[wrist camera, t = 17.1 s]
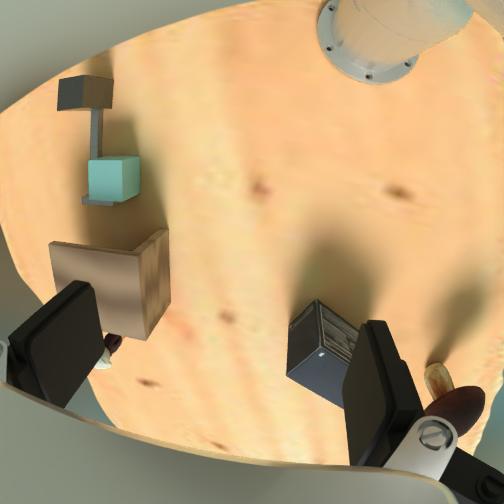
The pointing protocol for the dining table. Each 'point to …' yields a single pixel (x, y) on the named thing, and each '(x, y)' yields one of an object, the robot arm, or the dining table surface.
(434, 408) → the decorative mushroom
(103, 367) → the grandmother figurine
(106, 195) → the block
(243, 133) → the dining table surface
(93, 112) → the grey long piece
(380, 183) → the dining table surface
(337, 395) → the small box
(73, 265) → the cubby
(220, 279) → the dining table surface
